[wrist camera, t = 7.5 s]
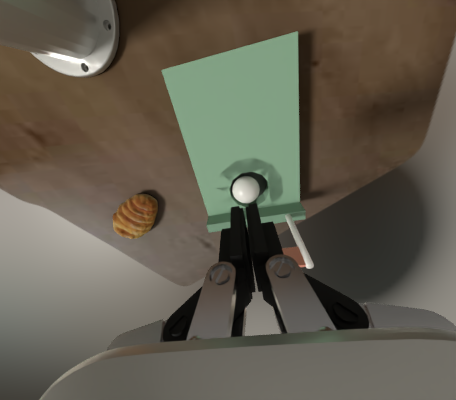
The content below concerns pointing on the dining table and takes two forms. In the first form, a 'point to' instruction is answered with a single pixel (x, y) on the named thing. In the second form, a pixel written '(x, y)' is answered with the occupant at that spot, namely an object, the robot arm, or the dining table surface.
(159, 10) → the dining table surface
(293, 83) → the mat
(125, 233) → the pastry
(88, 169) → the dining table surface
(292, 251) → the flag
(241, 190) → the ball
